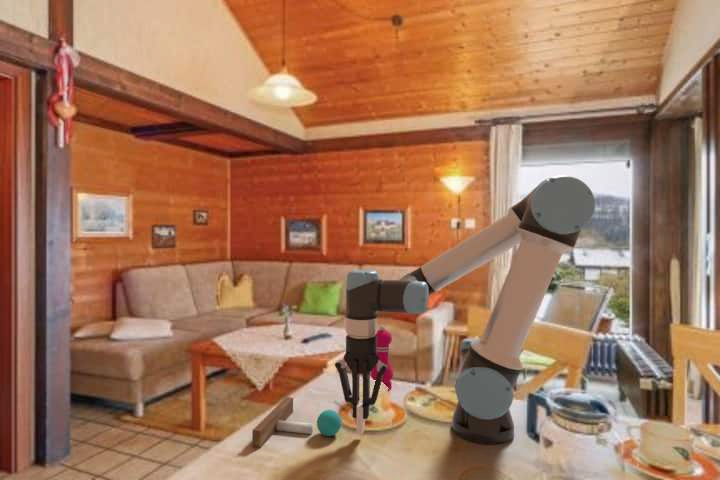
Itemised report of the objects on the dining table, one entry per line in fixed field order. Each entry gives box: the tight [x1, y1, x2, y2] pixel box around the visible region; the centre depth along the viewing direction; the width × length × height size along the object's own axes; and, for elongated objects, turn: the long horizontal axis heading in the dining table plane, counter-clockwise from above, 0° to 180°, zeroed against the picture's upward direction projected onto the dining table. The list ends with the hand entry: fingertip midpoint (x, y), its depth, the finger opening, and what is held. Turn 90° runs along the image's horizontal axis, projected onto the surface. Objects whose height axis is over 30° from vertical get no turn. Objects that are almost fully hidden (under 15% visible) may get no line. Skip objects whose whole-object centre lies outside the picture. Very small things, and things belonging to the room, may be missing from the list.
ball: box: [316, 409, 342, 437], centre depth 107 cm, size 6×6×6 cm
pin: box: [276, 420, 315, 435], centre depth 109 cm, size 2×2×9 cm
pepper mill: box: [370, 324, 394, 391], centre depth 139 cm, size 7×7×20 cm
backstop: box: [251, 396, 294, 449], centre depth 111 cm, size 2×20×4 cm, turn 167°
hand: (360, 430), depth 106 cm, fingers closed
